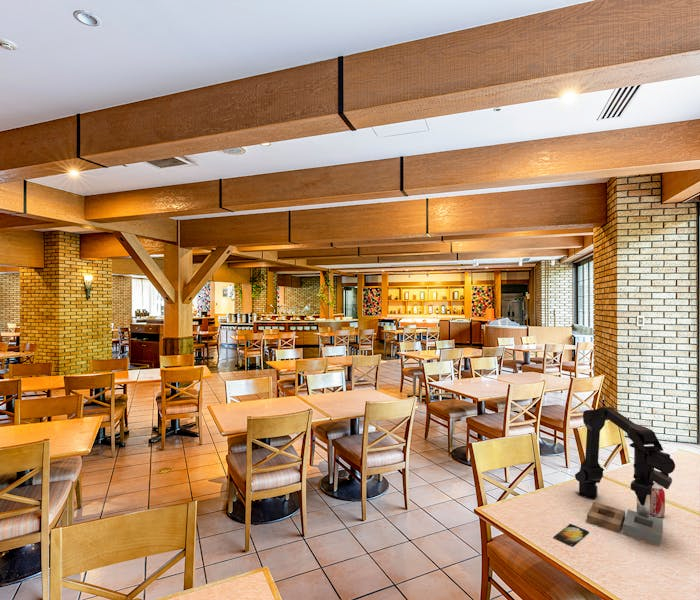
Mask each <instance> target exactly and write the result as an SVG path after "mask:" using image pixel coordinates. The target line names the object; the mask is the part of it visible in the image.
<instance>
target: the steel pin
mask: <svg viewBox="0 0 700 600" xmlns="http://www.w3.org/2000/svg"><path fill="white" fill-rule="evenodd" d="M636 512H637V515H639V516H641V517H645V518H649V517H650V495H648V494H647V497H646V501H645V505H644V506H643V505H641V504H640V502H639V500H638V498H637V497H636Z"/></svg>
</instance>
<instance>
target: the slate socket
mask: <svg viewBox="0 0 700 600" xmlns="http://www.w3.org/2000/svg"><path fill="white" fill-rule="evenodd" d="M622 530H623V533H622V534H623V535H624V536H627V537H629V538H634V539H636V540H639V541H643V542H645V543H648V544H652V545H655V546H657V547H661V543H662V538H663V533H664V531H663V530H664V519H663V518H661V517H659V518H658V517H653V516H650V517H649V518H645V517H641V516H639V515H637V510H631V509H627V511H626V513H625V520H624V523H623V526H622Z"/></svg>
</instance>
